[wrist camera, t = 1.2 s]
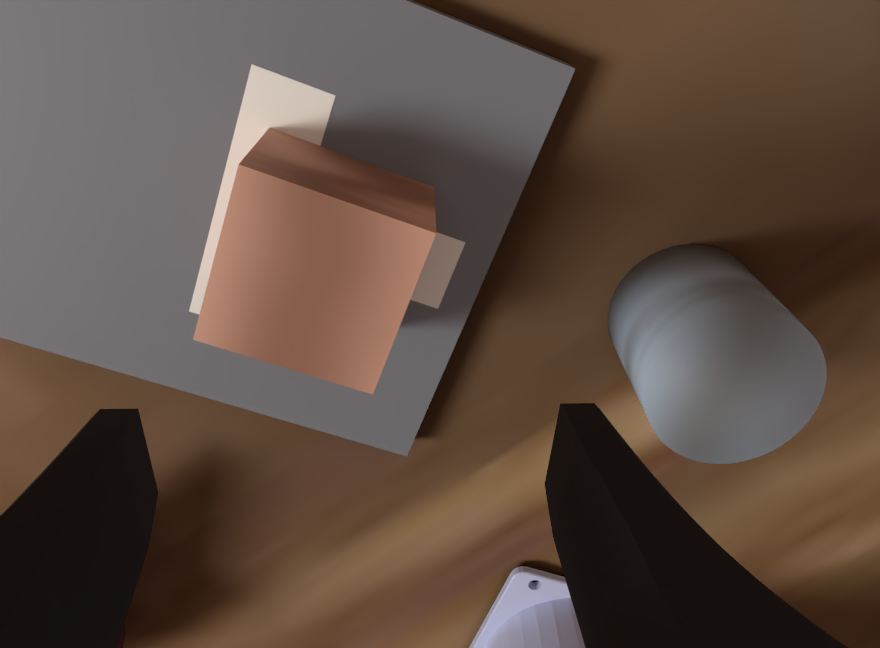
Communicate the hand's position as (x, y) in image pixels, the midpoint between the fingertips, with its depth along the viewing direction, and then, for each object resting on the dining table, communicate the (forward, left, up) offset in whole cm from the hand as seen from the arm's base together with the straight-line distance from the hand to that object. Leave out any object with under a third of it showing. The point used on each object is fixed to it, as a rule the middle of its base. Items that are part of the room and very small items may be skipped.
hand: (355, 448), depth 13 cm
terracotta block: (+2, +1, -11) cm, 11 cm away
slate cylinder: (-10, 0, -12) cm, 16 cm away
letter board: (+6, +1, -12) cm, 13 cm away
